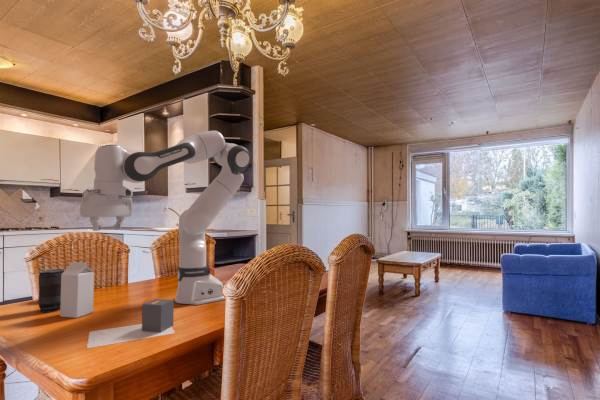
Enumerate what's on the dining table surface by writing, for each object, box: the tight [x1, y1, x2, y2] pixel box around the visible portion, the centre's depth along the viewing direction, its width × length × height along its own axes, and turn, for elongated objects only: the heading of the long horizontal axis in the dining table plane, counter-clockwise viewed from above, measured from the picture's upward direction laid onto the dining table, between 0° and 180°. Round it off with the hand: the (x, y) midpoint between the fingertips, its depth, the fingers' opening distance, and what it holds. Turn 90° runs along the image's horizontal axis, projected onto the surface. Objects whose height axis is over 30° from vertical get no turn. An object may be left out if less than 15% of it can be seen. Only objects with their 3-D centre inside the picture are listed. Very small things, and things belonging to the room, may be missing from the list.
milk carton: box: [59, 261, 95, 319], centre depth 120 cm, size 7×7×19 cm
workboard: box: [86, 323, 176, 349], centre depth 98 cm, size 22×14×2 cm, turn 120°
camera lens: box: [38, 268, 65, 313], centre depth 126 cm, size 8×8×15 cm
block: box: [141, 298, 175, 333], centre depth 102 cm, size 6×6×8 cm
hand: (107, 229), depth 116 cm, fingers open, 8 cm apart
